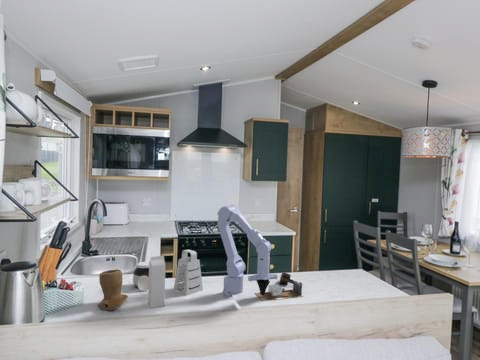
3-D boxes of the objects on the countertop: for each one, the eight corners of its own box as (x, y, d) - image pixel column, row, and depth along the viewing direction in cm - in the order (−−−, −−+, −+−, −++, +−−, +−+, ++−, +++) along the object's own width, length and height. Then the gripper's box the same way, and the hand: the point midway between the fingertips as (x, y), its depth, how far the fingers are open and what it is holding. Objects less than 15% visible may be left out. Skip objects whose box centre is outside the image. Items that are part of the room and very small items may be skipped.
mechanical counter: (284, 271, 186) (275, 271, 178) (305, 273, 178) (297, 274, 170) (283, 284, 184) (274, 285, 176) (304, 287, 177) (296, 288, 169)
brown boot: (106, 297, 154) (107, 265, 153) (131, 298, 153) (131, 266, 152) (89, 311, 139) (90, 276, 138) (116, 312, 138) (117, 277, 137)
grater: (186, 295, 159) (187, 254, 158) (173, 289, 166) (174, 250, 165) (202, 290, 166) (204, 251, 166) (189, 284, 174) (191, 247, 173)
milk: (148, 303, 149) (148, 255, 148) (161, 301, 151) (162, 253, 151) (150, 308, 143) (152, 258, 142) (164, 306, 146) (165, 257, 145)
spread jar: (146, 281, 176) (147, 260, 175) (160, 286, 169) (161, 264, 169) (127, 287, 166) (127, 265, 166) (141, 293, 160) (142, 269, 159)
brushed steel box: (274, 298, 155) (274, 290, 155) (268, 293, 162) (268, 285, 161) (287, 297, 157) (288, 289, 157) (281, 291, 164) (281, 284, 164)
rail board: (261, 303, 152) (262, 290, 152) (254, 295, 162) (254, 283, 162) (303, 299, 160) (304, 286, 159) (293, 291, 169) (294, 279, 169)
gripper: (252, 270, 151) (251, 299, 152) (280, 268, 156) (279, 296, 156) (247, 265, 158) (245, 293, 158) (274, 263, 162) (273, 290, 163)
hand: (262, 294), depth 158 cm, fingers closed
